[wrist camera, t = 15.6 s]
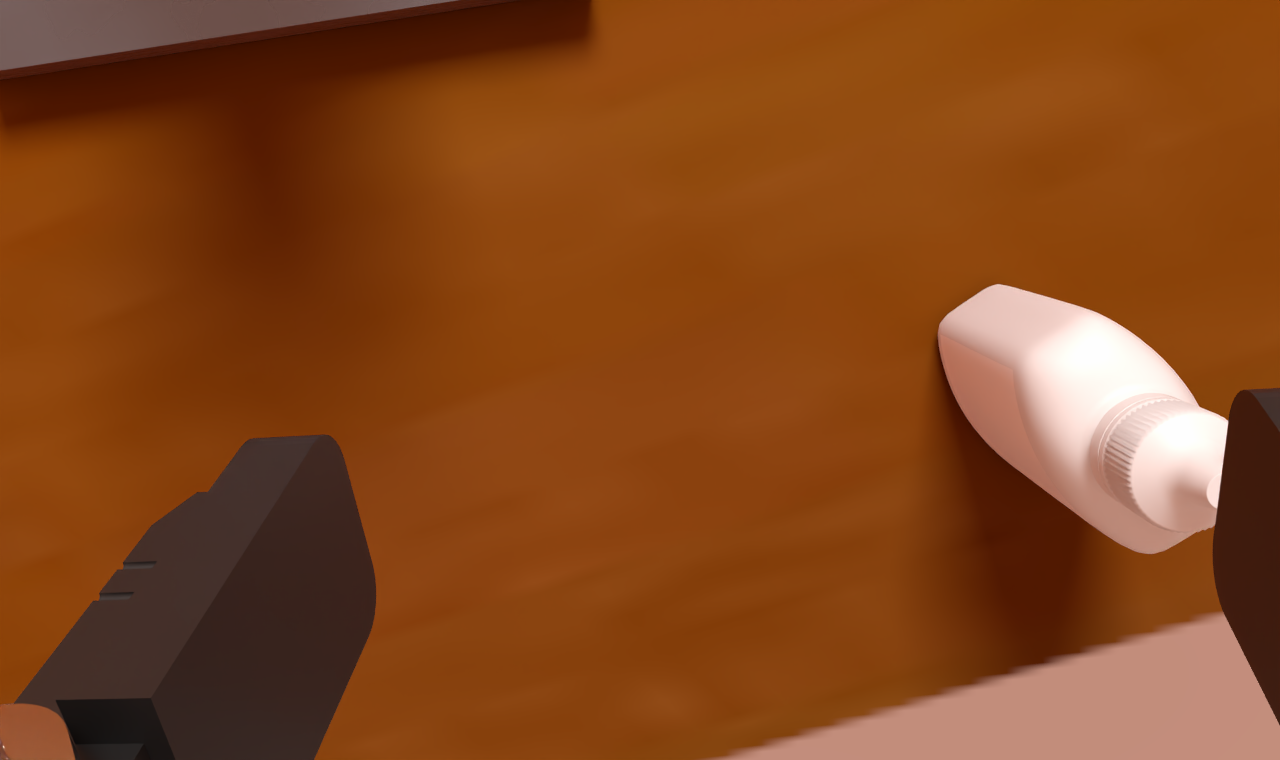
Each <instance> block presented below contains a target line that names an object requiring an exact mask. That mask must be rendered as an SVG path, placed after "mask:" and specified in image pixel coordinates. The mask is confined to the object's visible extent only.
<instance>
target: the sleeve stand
mask: <svg viewBox="0 0 1280 760" xmlns="http://www.w3.org/2000/svg"><path fill="white" fill-rule="evenodd" d="M512 1H519V0H0V80H4V79H10V78H17V77H23V76H30V75H37V74H43V73H50V72H56V71H63V70H69V69H76V68H82V67H89V66H95V65H102V64H108V63H115V62H121V61H128V60H134V59H141V58H147V57H154V56H160V55H167V54H173V53H180V52H186V51H193V50H199V49H206V48H213V47H219V46H226V45H232V44H239V43H245V42H252V41H258V40H265V39H271V38H278V37H284V36H291V35H297V34H304V33H310V32H317V31H323V30H330V29H336V28H343V27H349V26H356V25H362V24H369V23H375V22H382V21H389V20H395V19H402V18H408V17H415V16H421V15H428V14H434V13H441V12H447V11H454V10H460V9H467V8H473V7H480V6H486V5H493V4H499V3H506V2H512Z"/></svg>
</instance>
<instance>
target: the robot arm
mask: <svg viewBox="0 0 1280 760" xmlns="http://www.w3.org/2000/svg"><path fill="white" fill-rule="evenodd" d="M123 564H124V567H123V570H117V571H116V572H115V573H114V575H113V576H112V577H111V579H110V580H109V581H108V582H107V584H106V585H105V586H104V588H103V589H102V590H101V592H100V593H99V594H100V599H99V601H93V602H92V603H91V604H90V606H89V607H88V608H87V610H86V611H85V612H84V613H83V615H82V616H81V617H80V619H79V620H78V621H77V623H76V624H75V625H74V626H73V628H72V629H71V630H70V632H69V633H68V634H67V635H66V637H65V638H64V639H63V641H62V642H61V643H60V644H59V646H58V647H57V648H56V650H55V651H54V652H53V653H52V655H51V656H50V657H49V659H48V660H47V661H46V663H45V664H44V665H43V666H42V668H41V669H40V670H39V672H38V673H37V674H36V675H35V677H34V678H33V679H32V681H31V682H30V683H29V684H28V686H27V687H26V688H25V690H24V691H23V692H22V694H21V695H20V696H19V697H18V699H17V700H16V701H15V703H14V704H5V705H0V760H314V758H315V756H316V754H317V751H318V749H319V747H320V745H321V742H322V740H323V738H324V736H325V733H326V731H327V729H328V727H329V724H330V722H331V720H332V718H333V715H334V713H335V711H336V709H337V706H338V704H339V702H340V700H341V697H342V695H343V693H344V691H345V688H346V686H347V684H348V682H349V679H350V677H351V675H352V673H353V670H354V668H355V666H356V664H357V661H358V659H359V657H360V655H361V652H362V650H363V648H364V646H365V643H366V641H367V639H368V637H369V634H370V631H371V628H372V625H373V620H374V615H375V606H376V583H375V574H374V569H373V564H372V560H371V557H370V553H369V549H368V546H367V542H366V538H365V535H364V531H363V527H362V523H361V520H360V516H359V512H358V509H357V505H356V501H355V498H354V494H353V490H352V487H351V483H350V479H349V475H348V472H347V468H346V464H345V461H344V457H343V454H342V452H341V449H340V447H339V445H338V444H337V442H336V441H335V440H334V439H333V438H332V437H331V436H329V435H310V436H290V437H271V438H253V439H250V440H248V441H246V442H245V443H244V444H243V445H242V446H241V448H240V449H239V451H238V452H237V453H236V455H235V456H234V457H233V459H232V460H231V461H230V463H229V464H228V466H227V467H226V468H225V470H224V471H223V472H222V474H221V475H220V476H219V478H218V479H217V480H216V482H215V483H214V485H213V486H212V487H211V489H210V490H209V491H208V492H197V493H196V494H194V495H193V496H192V497H190V498H189V499H187V500H186V501H185V502H183V503H182V504H181V505H179V506H178V507H176V508H175V509H174V510H172V511H171V512H169V513H168V514H167V515H165V516H164V517H163V518H161V519H160V520H158V521H157V522H156V523H154V524H153V525H152V526H151V527H150V528H149V530H148V531H147V532H146V533H145V535H144V536H143V537H142V539H141V540H140V541H139V542H138V544H137V545H136V546H135V548H134V549H133V550H132V552H131V553H130V554H129V555H128V557H127V558H126V559H125V561H124V562H123ZM1213 568H1214V577H1215V583H1216V588H1217V593H1218V597H1219V601H1220V604H1221V607H1222V610H1223V612H1224V614H1225V616H1226V618H1227V620H1228V622H1229V624H1230V626H1231V628H1232V630H1233V632H1234V634H1235V636H1236V638H1237V640H1238V642H1239V644H1240V646H1241V649H1242V651H1243V652H1244V655H1245V656H1246V658H1247V661H1248V662H1249V664H1250V667H1251V669H1252V671H1253V672H1254V675H1255V677H1256V678H1257V681H1258V683H1259V685H1260V687H1261V688H1262V691H1263V693H1264V694H1265V697H1266V699H1267V700H1268V702H1269V704H1270V707H1271V708H1272V710H1273V713H1274V714H1275V716H1276V719H1277V721H1278V722H1279V725H1280V388H1273V389H1253V390H1243V391H1240V392H1239V393H1238V394H1237V395H1236V397H1235V398H1234V401H1233V403H1232V406H1231V410H1230V414H1229V420H1228V428H1227V436H1226V444H1225V451H1224V459H1223V467H1222V475H1221V483H1220V491H1219V498H1218V506H1217V514H1216V522H1215V530H1214V538H1213Z"/></svg>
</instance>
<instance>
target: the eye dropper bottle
mask: <svg viewBox="0 0 1280 760" xmlns="http://www.w3.org/2000/svg"><path fill="white" fill-rule="evenodd" d="M938 343H939V350H940V355H941V359H942V363H943V367H944V370H945V373H946V377H947V380H948V382H949V385H950V387H951V390H952V392H953V394H954V396H955V398H956V400H957V402H958V404H959V406H960V408H961V410H962V411H963V413H964V414H965V416H966V418H967V419H968V420H969V422H970V423H971V425H972V426H973V427H974V429H975V430H976V431H977V432H978V434H979V435H980V436H981V437H982V438H983V439H984V441H985V442H986V443H987V444H988V445H989V446H990V447H991V448H992V449H993V450H994V451H995V452H996V453H997V454H998V455H1000V456H1001V457H1002V458H1003V459H1004V460H1005V461H1007V462H1008V463H1009V464H1010V465H1012V466H1013V467H1014V468H1016V469H1017V470H1018V471H1020V472H1021V473H1022V474H1024V475H1025V476H1026V477H1028V478H1029V479H1030V480H1032V481H1033V482H1034V483H1036V484H1037V485H1038V486H1040V487H1041V488H1042V489H1044V490H1045V491H1046V492H1048V493H1049V494H1050V495H1052V496H1053V497H1054V498H1056V499H1057V500H1058V501H1060V502H1061V503H1062V504H1064V505H1065V506H1066V507H1068V508H1069V509H1070V510H1072V511H1073V512H1074V513H1076V514H1077V515H1078V516H1080V517H1081V518H1083V519H1084V520H1085V521H1087V522H1088V523H1089V524H1091V525H1092V526H1094V527H1095V528H1096V529H1098V530H1099V531H1101V532H1102V533H1103V534H1105V535H1106V536H1108V537H1109V538H1111V539H1113V540H1114V541H1116V542H1117V543H1119V544H1121V545H1123V546H1125V547H1127V548H1129V549H1131V550H1134V551H1136V552H1140V553H1146V554H1154V553H1157V552H1161V551H1165V550H1166V549H1168V548H1170V547H1172V546H1174V545H1176V544H1178V543H1179V542H1181V541H1182V540H1184V539H1186V538H1187V537H1189V536H1190V535H1192V534H1193V533H1195V532H1196V531H1197V532H1199V531H1201V530H1202V529H1203V530H1206V529H1207V528H1212V527H1213V526H1214V525H1215V522H1216V514H1217V506H1218V498H1219V491H1220V483H1221V475H1222V467H1223V459H1224V451H1225V444H1226V436H1227V428H1228V420H1226V419H1225V418H1224V417H1221V416H1219V415H1218V414H1215V413H1213V412H1210V411H1208V410H1205V409H1203V408H1200V407H1199V405H1198V404H1197V402H1196V400H1195V398H1194V397H1193V395H1192V394H1191V392H1190V391H1189V389H1188V388H1187V386H1186V385H1185V384H1184V382H1183V381H1182V380H1181V379H1180V377H1179V376H1178V375H1177V374H1176V372H1175V371H1174V370H1173V369H1172V368H1171V367H1170V366H1169V365H1168V364H1167V363H1166V361H1165V360H1164V359H1163V358H1162V357H1160V356H1159V355H1158V354H1157V353H1156V352H1155V351H1154V350H1153V349H1152V348H1150V347H1149V346H1148V345H1147V344H1146V343H1144V342H1143V341H1142V340H1141V339H1140V338H1138V337H1137V336H1135V335H1134V334H1133V333H1131V332H1130V331H1128V330H1127V329H1125V328H1124V327H1122V326H1120V325H1119V324H1117V323H1116V322H1114V321H1112V320H1110V319H1108V318H1107V317H1105V316H1103V315H1101V314H1099V313H1097V312H1094V311H1091V310H1088V309H1085V308H1082V307H1079V306H1076V305H1073V304H1069V303H1066V302H1063V301H1059V300H1056V299H1052V298H1049V297H1046V296H1042V295H1039V294H1035V293H1031V292H1028V291H1024V290H1021V289H1017V288H1014V287H1010V286H1005V285H1000V284H996V285H993V286H990V287H987V288H986V289H984V290H982V291H981V292H979V293H978V294H976V295H975V296H973V297H972V298H970V299H969V300H967V301H966V302H964V303H963V304H961V305H960V306H958V307H957V308H956V309H954V310H953V311H951V312H950V313H949V314H947V315H946V317H945V318H944V319H943V320H942V321H941V323H940V325H939V330H938Z"/></svg>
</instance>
